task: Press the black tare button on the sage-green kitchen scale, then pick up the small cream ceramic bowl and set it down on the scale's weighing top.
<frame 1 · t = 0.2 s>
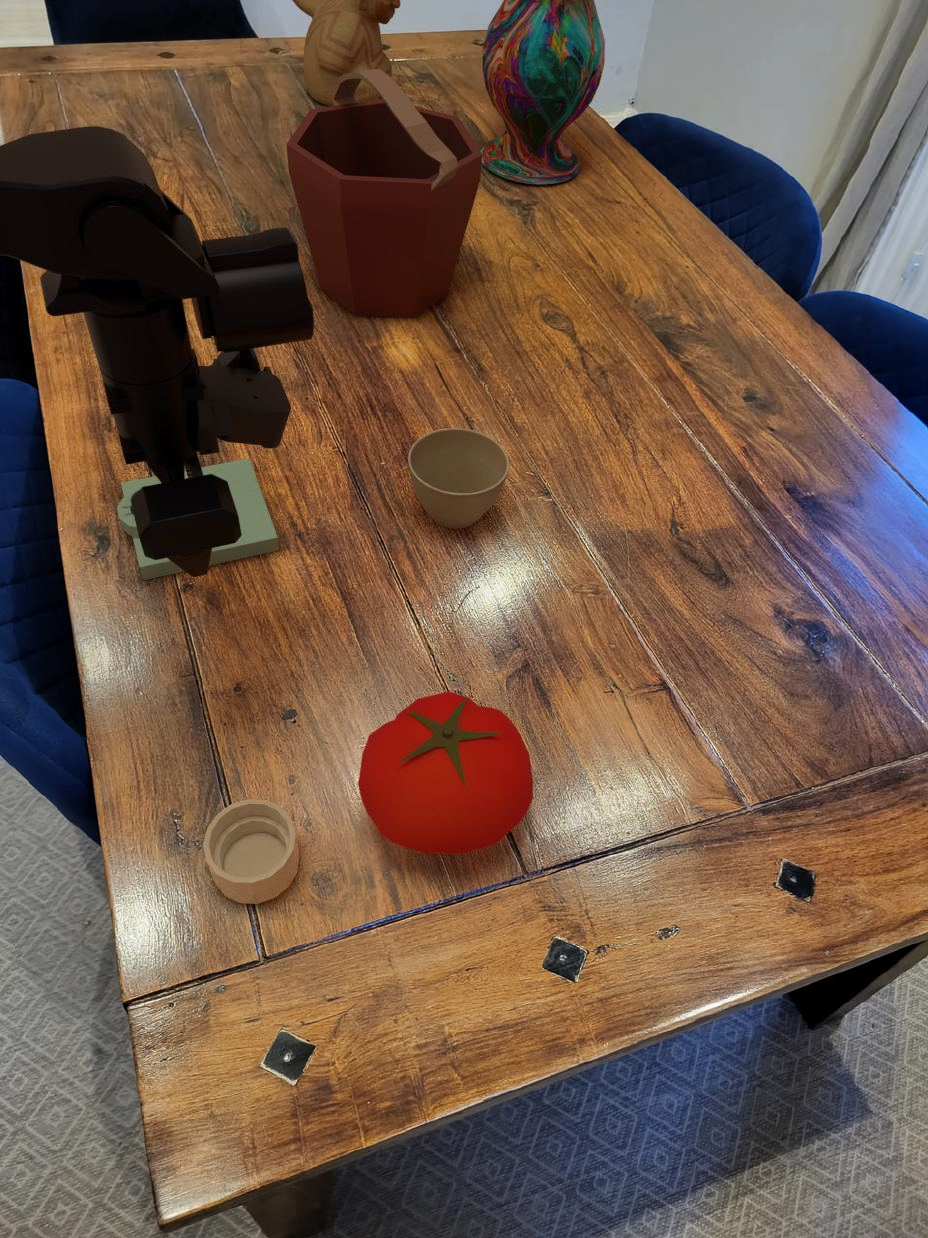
hand: (187, 531, 67), 15 cm above the table, tool pointing down, fingers open, 9 cm apart
scale: (200, 522, 88), on the table
vase: (529, 164, 144), on the table
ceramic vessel: (345, 96, 155), on the table
tare button: (146, 503, 84), point 4 cm above the table, slide at 0.1 cm
tomato: (441, 806, 71), on the table
brown cup: (453, 513, 92), on the table
bucket: (380, 286, 117), on the table
bowl: (256, 864, 66), on the table
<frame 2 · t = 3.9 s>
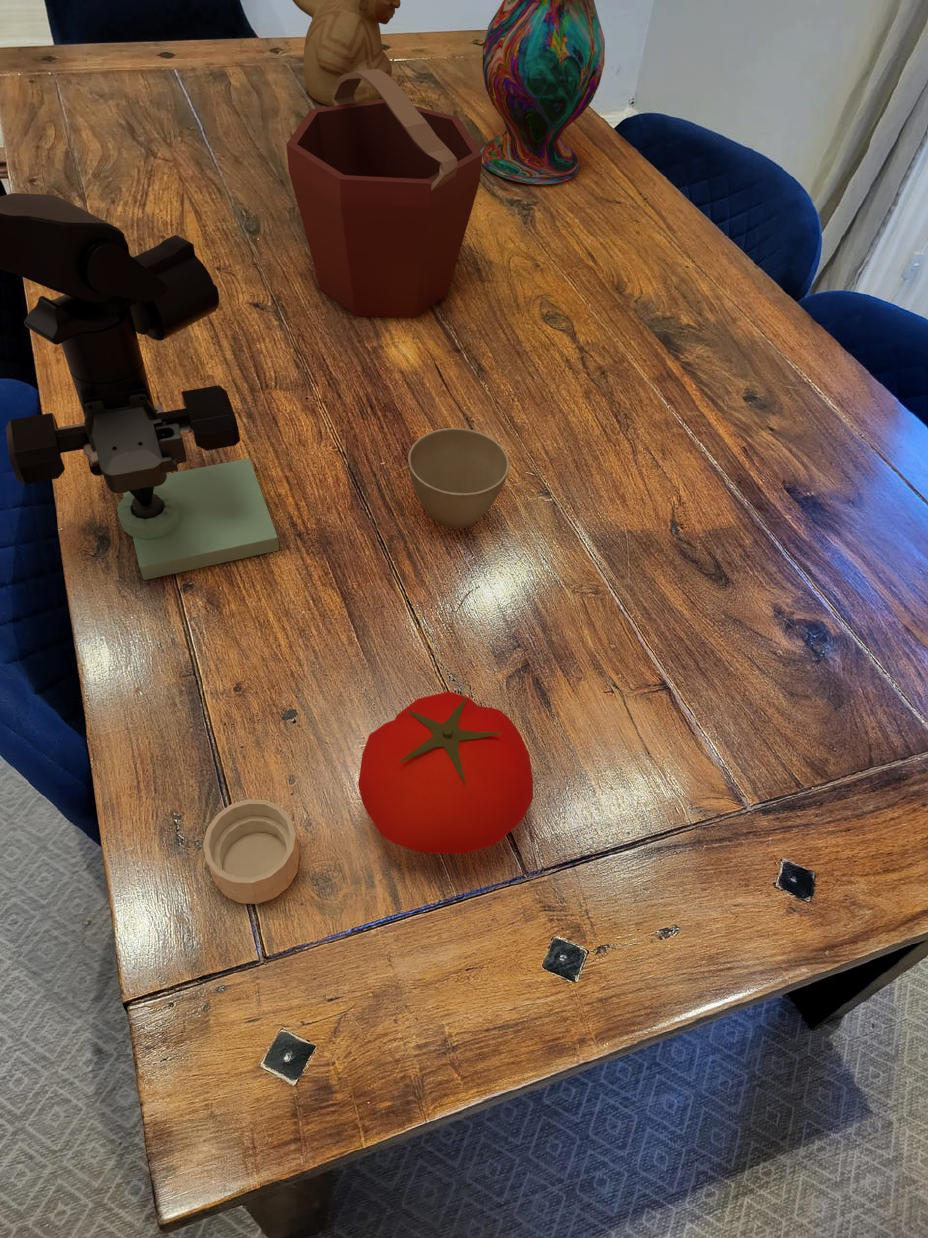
hand: (145, 502, 83), 4 cm above the table, tool pointing down, fingers closed, pressing on tare button
tare button: (147, 507, 84), point 3 cm above the table, slide at -0.4 cm, touching gripper
everything else where it was.
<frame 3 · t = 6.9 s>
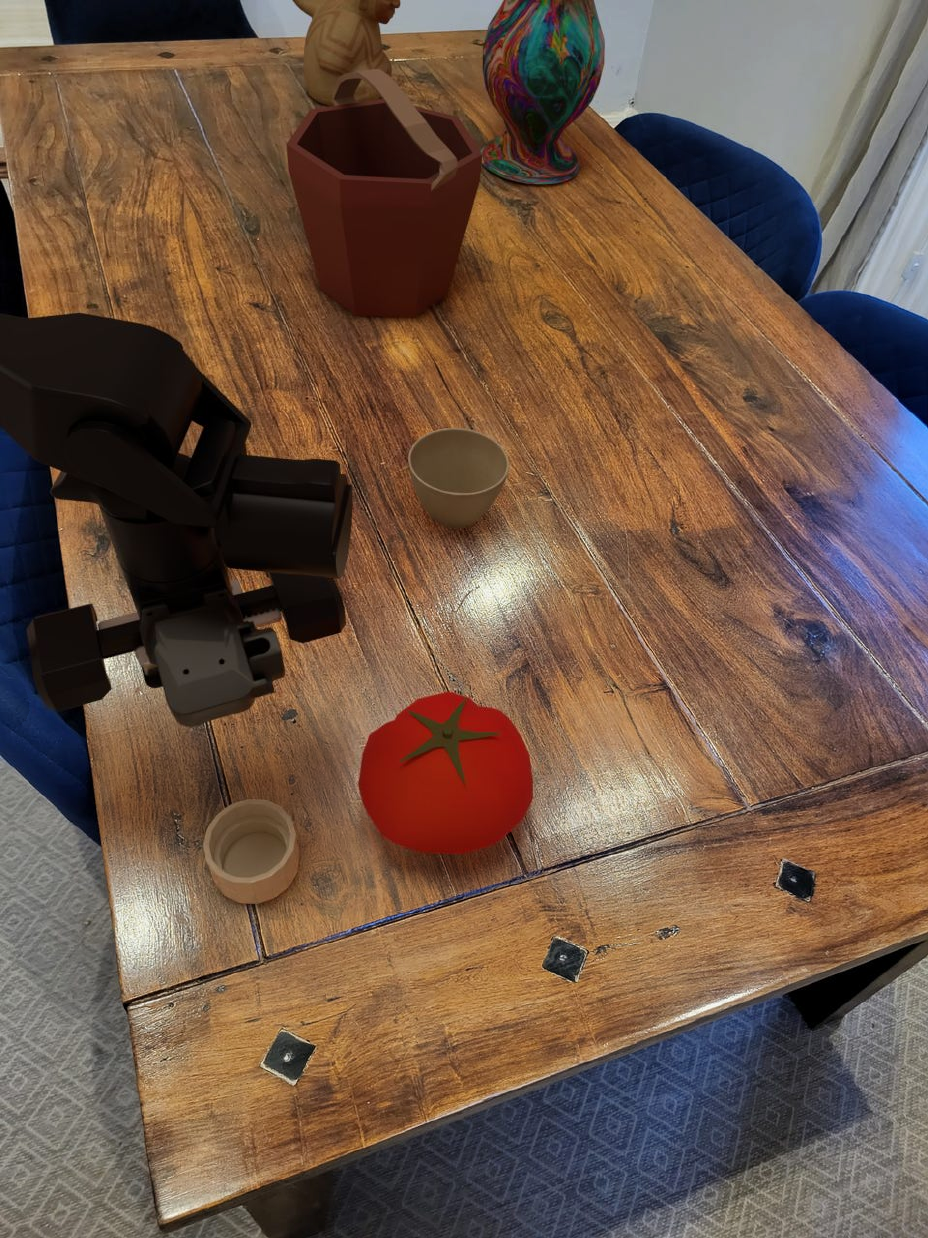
hand: (213, 697, 62), 11 cm above the table, tool pointing down, fingers closed
tare button: (146, 503, 84), point 4 cm above the table, slide at 0.1 cm
everything else where it was.
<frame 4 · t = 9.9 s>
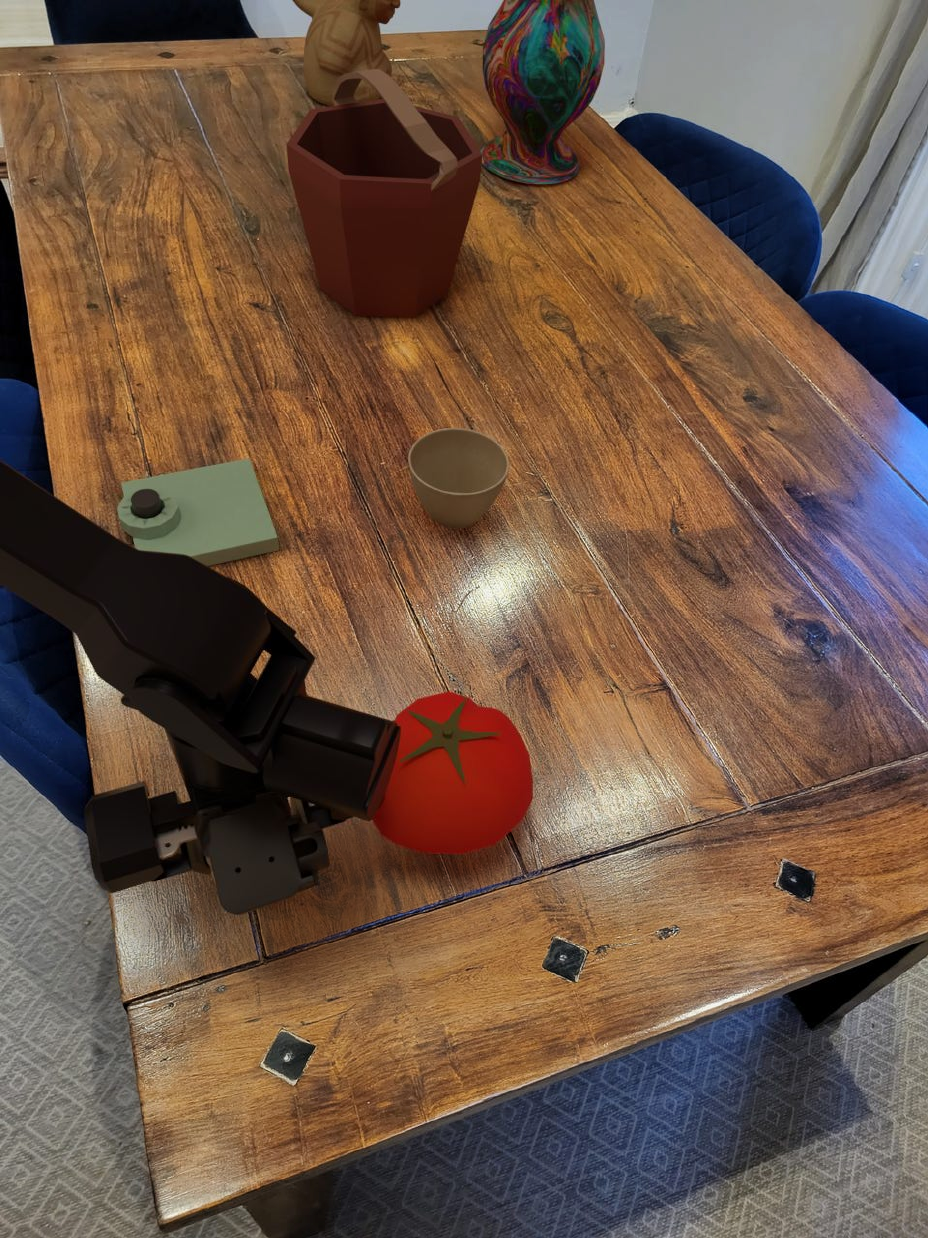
hand: (253, 853, 65), 2 cm above the table, tool pointing down, fingers closed on bowl, 6 cm apart
bowl: (256, 864, 66), on the table, touching gripper
everything else where it was.
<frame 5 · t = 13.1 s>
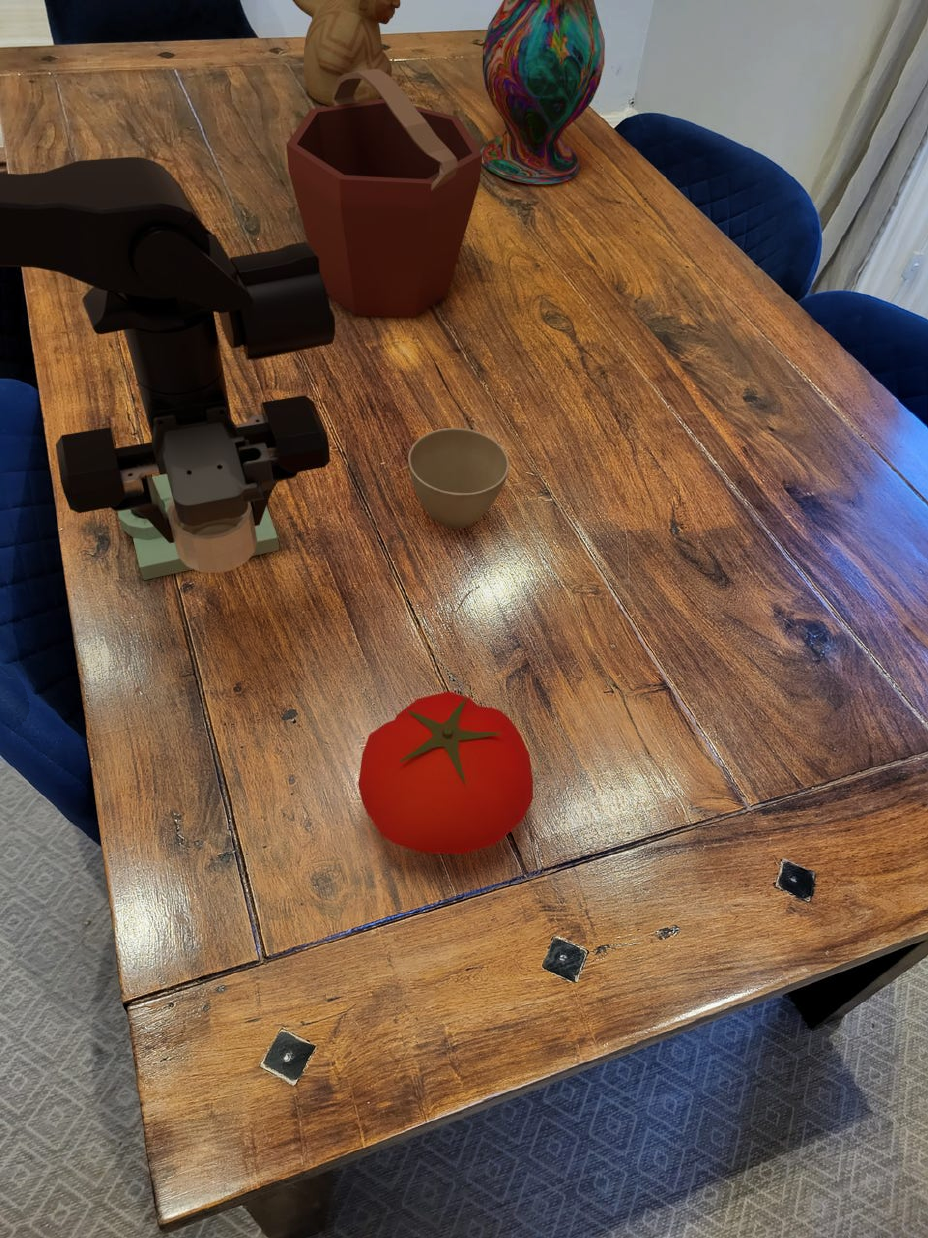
hand: (213, 530, 71), 12 cm above the table, tool pointing down, fingers closed on bowl, 6 cm apart
bowl: (217, 548, 73), point 10 cm above the table, touching gripper
everything else where it was.
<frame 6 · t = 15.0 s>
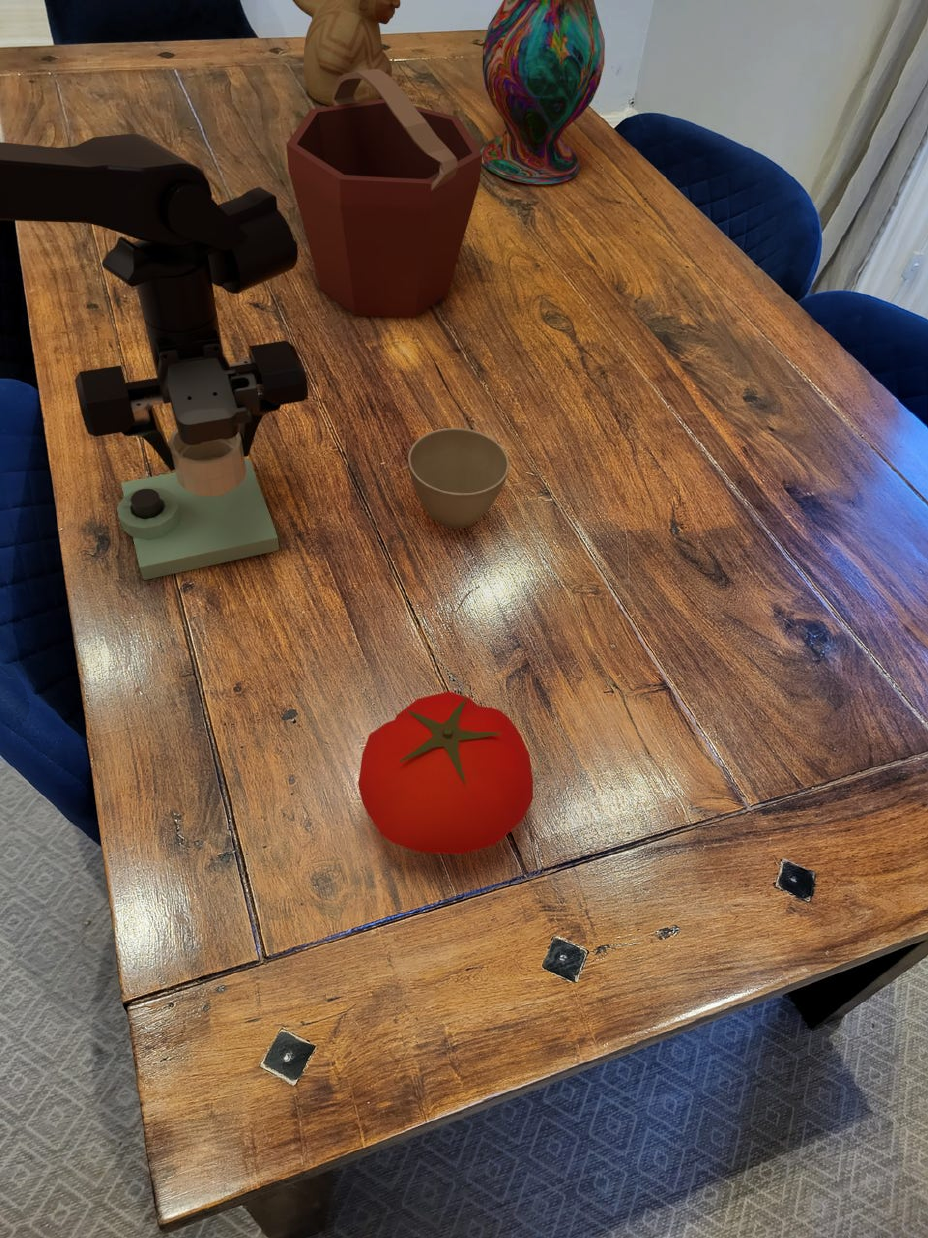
hand: (208, 460, 82), 8 cm above the table, tool pointing down, fingers closed on bowl, 6 cm apart
bowl: (212, 476, 84), point 6 cm above the table, touching gripper
everything else where it was.
when the fingers open (4 cm above the table, at t = 16.6 s): bowl stays where it is, resting on scale.
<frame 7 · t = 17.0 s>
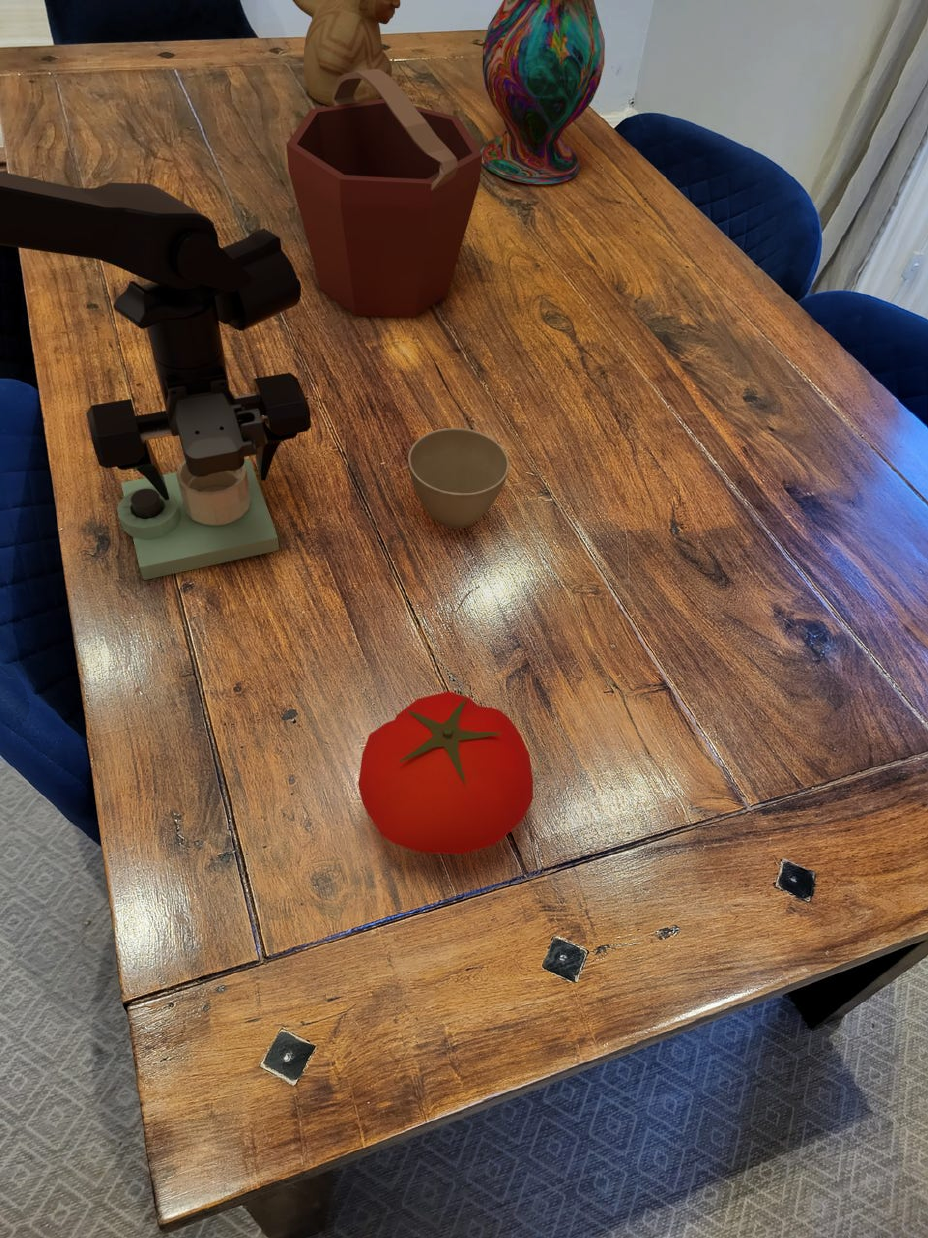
hand: (215, 487, 85), 4 cm above the table, tool pointing down, fingers open, 9 cm apart
bowl: (218, 505, 87), point 2 cm above the table, touching scale
everything else where it was.
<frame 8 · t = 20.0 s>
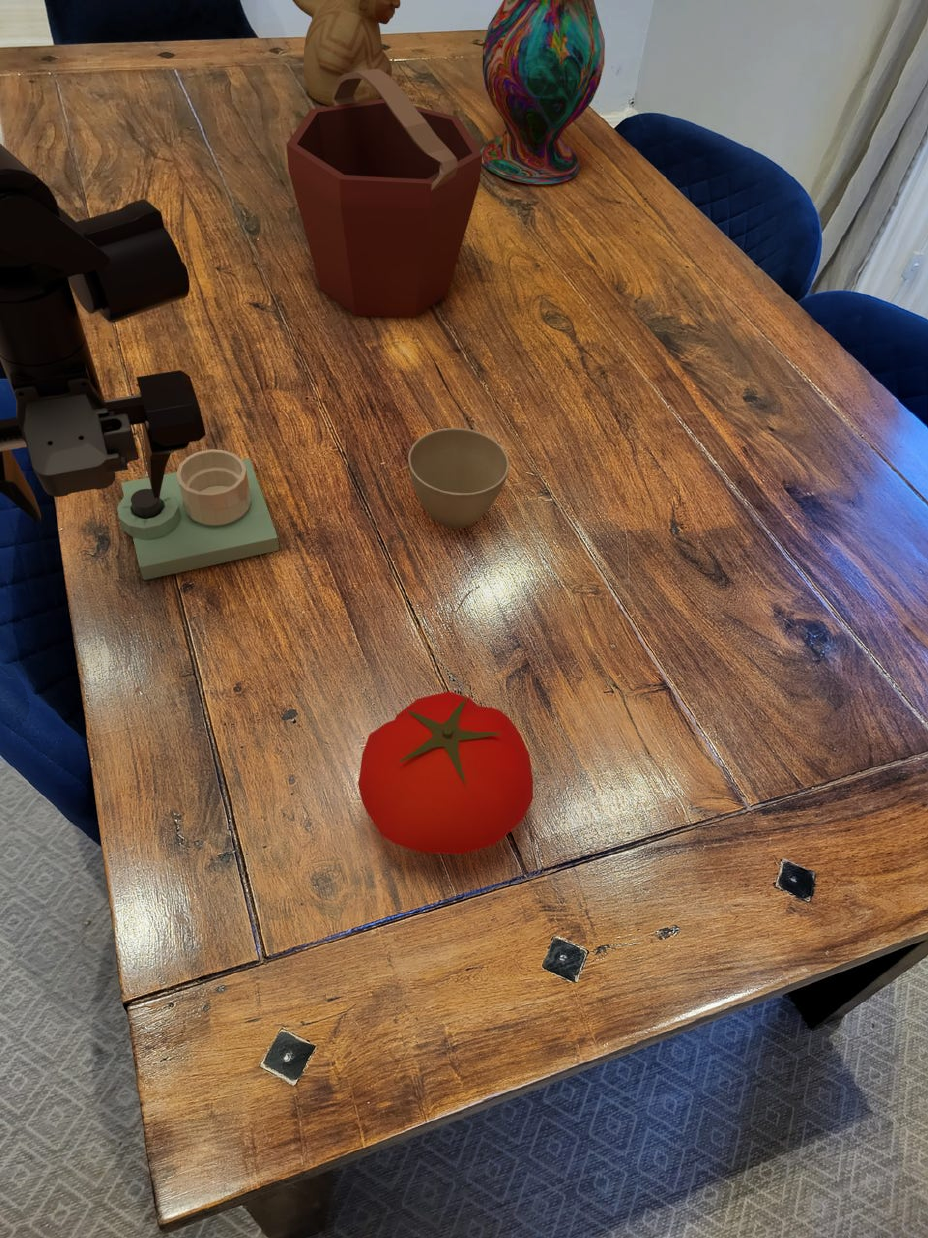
hand: (98, 506, 72), 12 cm above the table, tool pointing down, fingers open, 9 cm apart
nothing on the table moved.
at the end: tare button pushed in 0.9 cm at the most during the clip, back to where it started at the end; bowl inside the target area on the scale (0.3 cm from its centre), point 1.9 cm above the scale's base; bowl tilted 0° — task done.
